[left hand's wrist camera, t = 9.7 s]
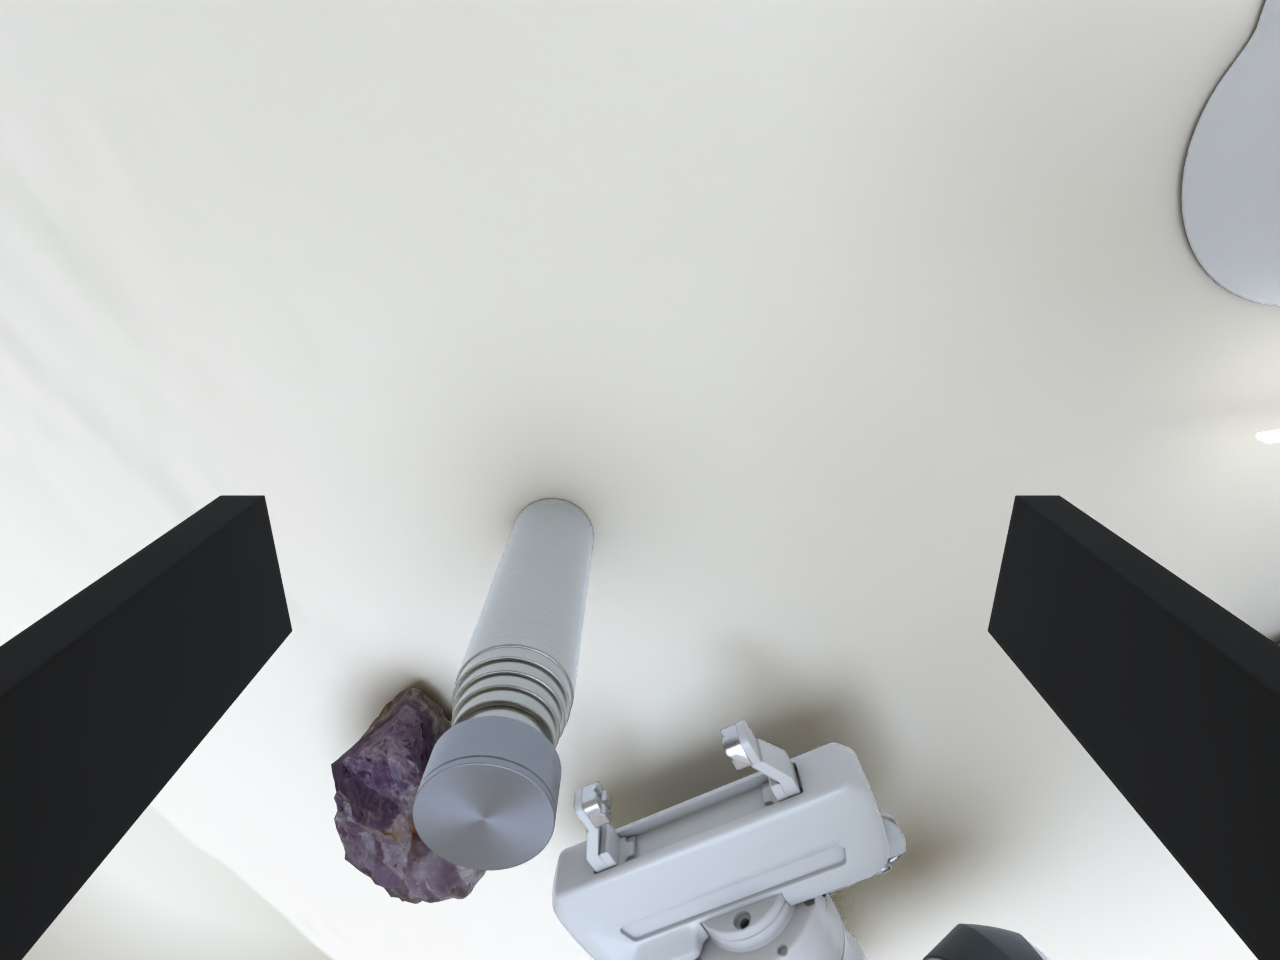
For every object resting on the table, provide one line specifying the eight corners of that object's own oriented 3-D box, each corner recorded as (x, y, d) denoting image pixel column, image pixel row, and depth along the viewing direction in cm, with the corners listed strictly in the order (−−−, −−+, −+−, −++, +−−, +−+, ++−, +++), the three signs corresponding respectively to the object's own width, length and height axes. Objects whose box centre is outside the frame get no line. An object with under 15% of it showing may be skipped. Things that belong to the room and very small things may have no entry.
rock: (442, 652, 46) (340, 737, 48) (385, 727, 38) (266, 826, 40) (563, 775, 48) (459, 853, 50) (534, 874, 39) (412, 962, 41)
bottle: (610, 532, 42) (589, 805, 23) (558, 584, 43) (497, 883, 24) (548, 482, 41) (473, 726, 22) (497, 537, 42) (383, 812, 23)
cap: (588, 764, 25) (584, 815, 23) (506, 836, 26) (495, 891, 24) (484, 691, 24) (470, 739, 21) (404, 771, 25) (383, 822, 23)
